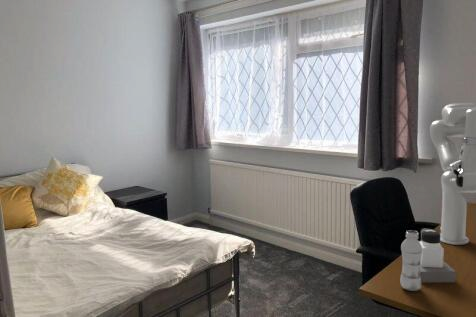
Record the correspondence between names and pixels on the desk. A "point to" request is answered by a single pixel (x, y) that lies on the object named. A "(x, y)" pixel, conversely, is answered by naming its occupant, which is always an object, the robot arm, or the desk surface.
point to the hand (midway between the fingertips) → (472, 186)
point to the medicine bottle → (431, 250)
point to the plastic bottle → (411, 262)
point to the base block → (437, 274)
